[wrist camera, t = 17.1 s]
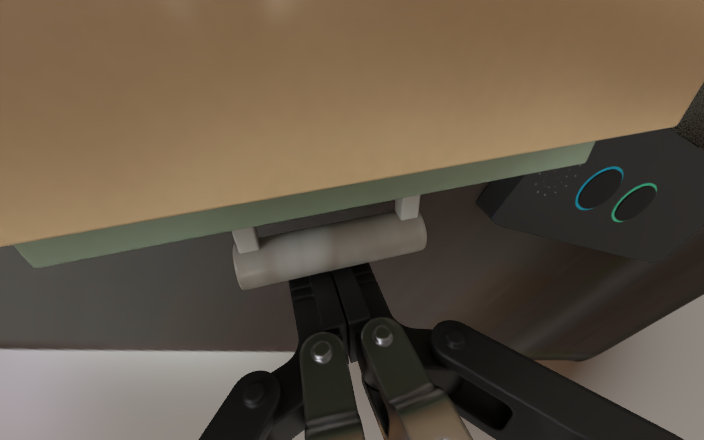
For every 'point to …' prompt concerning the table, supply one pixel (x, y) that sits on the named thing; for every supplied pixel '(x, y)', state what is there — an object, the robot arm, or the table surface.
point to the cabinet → (310, 95)
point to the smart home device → (611, 197)
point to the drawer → (311, 243)
